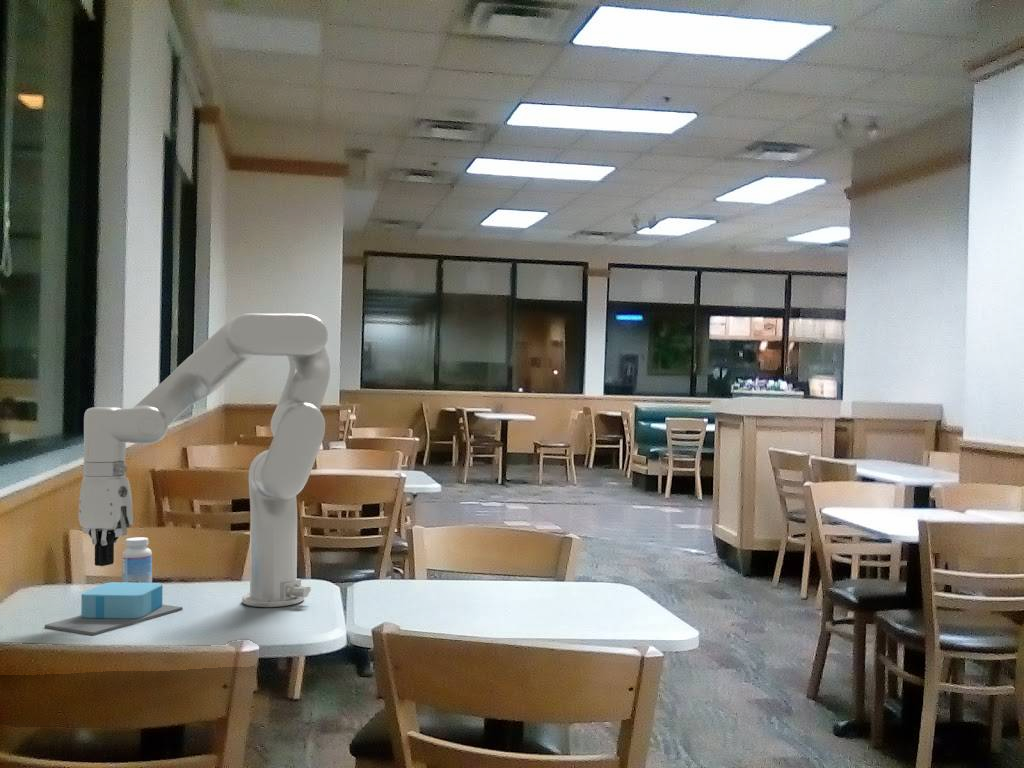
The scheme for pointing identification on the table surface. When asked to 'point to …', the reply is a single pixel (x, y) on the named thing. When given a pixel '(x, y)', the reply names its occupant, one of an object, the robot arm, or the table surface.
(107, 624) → the mat
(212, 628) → the table surface
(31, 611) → the table surface
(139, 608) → the data package
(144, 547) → the pill bottle
